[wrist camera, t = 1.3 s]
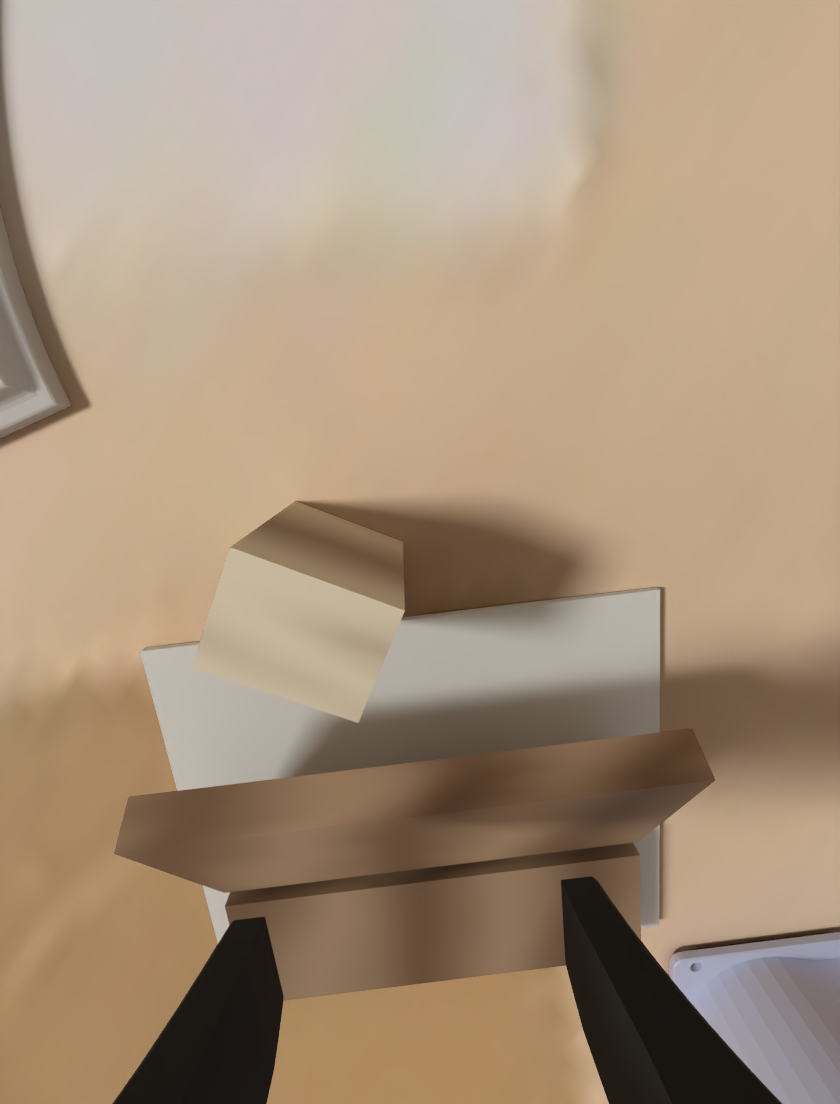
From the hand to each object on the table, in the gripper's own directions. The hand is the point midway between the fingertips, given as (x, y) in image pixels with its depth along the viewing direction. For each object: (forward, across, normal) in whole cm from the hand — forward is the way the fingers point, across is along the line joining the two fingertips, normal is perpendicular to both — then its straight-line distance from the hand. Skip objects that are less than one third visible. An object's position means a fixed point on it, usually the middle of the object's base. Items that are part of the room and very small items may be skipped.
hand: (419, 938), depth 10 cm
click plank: (+7, 0, +3) cm, 8 cm away
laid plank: (+10, 0, +10) cm, 14 cm away
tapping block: (+6, +3, -4) cm, 8 cm away
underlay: (+10, 0, +5) cm, 11 cm away
